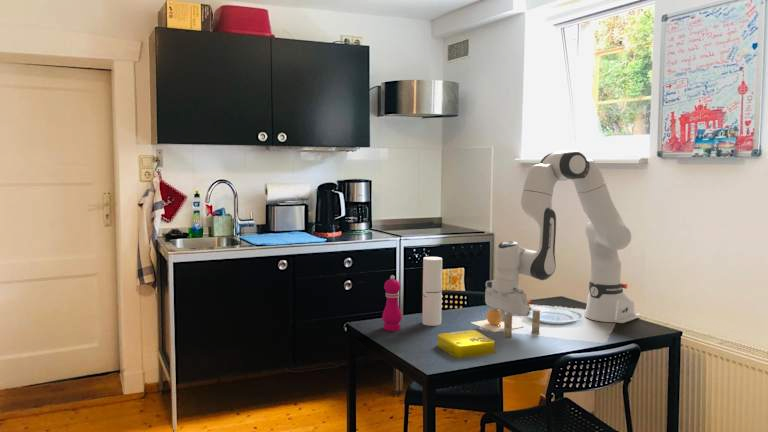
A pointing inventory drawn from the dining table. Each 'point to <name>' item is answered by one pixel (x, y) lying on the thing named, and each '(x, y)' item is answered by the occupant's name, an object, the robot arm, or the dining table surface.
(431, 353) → the dining table surface
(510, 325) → the left post
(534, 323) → the right post
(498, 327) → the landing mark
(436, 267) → the cylindrical container
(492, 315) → the ball
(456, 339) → the element tile
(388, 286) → the pepper mill
